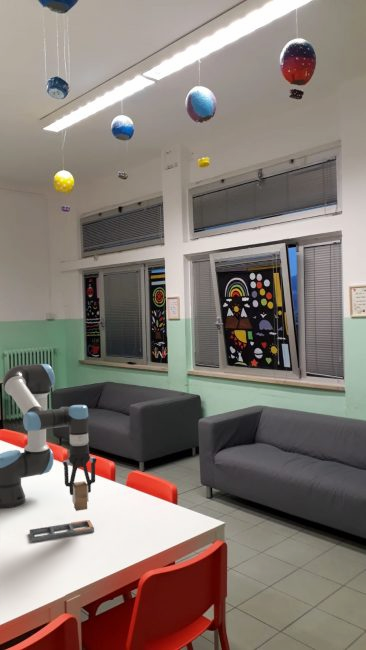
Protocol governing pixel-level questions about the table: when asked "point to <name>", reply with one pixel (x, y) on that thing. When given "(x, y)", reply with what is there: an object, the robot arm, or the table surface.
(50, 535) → the rack
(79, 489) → the walnut block
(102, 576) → the table surface
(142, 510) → the table surface
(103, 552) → the table surface
